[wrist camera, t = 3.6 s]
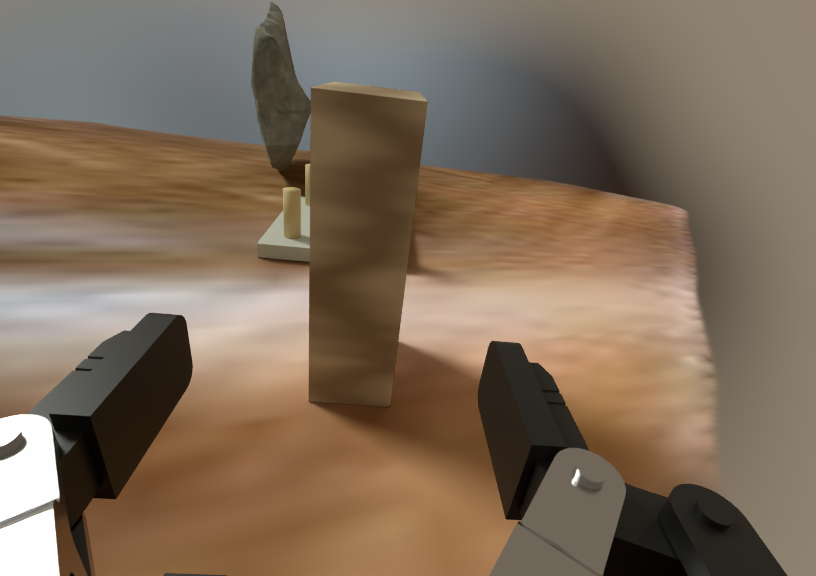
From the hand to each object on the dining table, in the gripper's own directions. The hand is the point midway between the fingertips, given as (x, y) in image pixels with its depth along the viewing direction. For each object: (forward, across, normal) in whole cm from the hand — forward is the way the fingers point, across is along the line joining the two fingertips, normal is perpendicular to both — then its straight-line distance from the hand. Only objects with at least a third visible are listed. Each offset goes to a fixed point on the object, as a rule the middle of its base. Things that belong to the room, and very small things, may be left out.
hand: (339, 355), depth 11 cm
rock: (+51, +14, +8) cm, 53 cm away
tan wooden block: (+10, 0, +8) cm, 12 cm away
